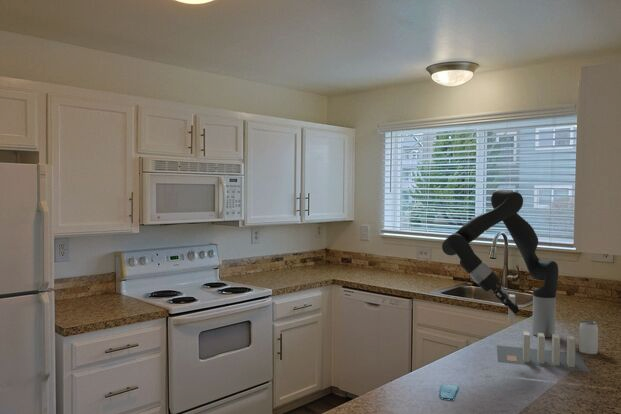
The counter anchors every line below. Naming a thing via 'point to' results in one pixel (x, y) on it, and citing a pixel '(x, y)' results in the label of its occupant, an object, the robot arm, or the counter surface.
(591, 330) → the can
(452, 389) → the sponge
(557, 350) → the domino
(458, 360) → the counter surface
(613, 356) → the counter surface
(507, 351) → the slate mat
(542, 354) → the domino
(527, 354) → the domino
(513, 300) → the domino
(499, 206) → the robot arm
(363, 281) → the counter surface
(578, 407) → the counter surface
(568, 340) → the domino
